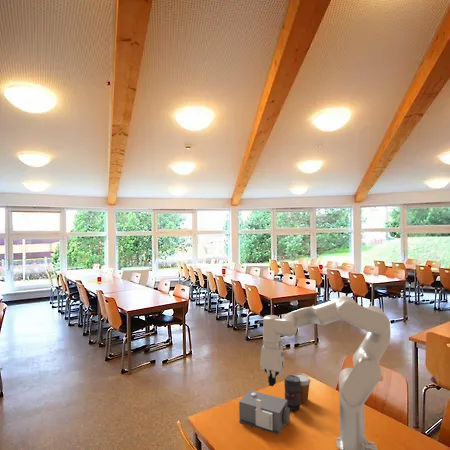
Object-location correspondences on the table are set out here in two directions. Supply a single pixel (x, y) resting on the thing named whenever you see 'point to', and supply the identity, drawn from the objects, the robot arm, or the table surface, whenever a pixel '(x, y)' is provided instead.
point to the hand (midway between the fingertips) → (272, 384)
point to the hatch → (263, 417)
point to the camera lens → (292, 392)
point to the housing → (267, 404)
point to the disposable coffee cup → (304, 387)
